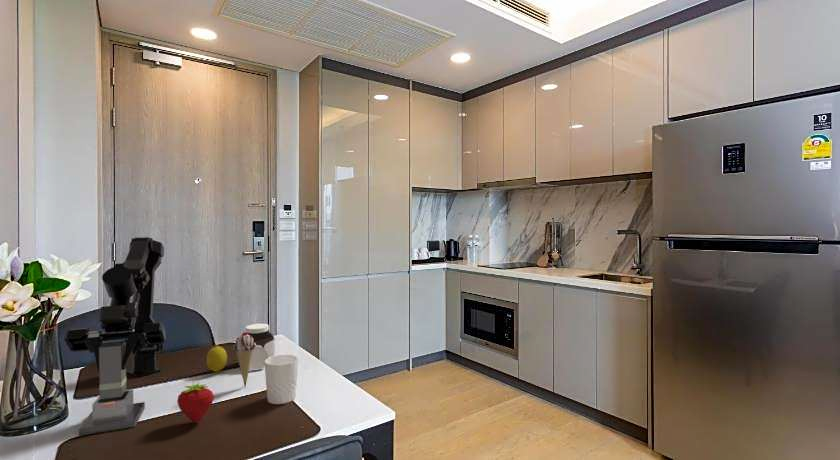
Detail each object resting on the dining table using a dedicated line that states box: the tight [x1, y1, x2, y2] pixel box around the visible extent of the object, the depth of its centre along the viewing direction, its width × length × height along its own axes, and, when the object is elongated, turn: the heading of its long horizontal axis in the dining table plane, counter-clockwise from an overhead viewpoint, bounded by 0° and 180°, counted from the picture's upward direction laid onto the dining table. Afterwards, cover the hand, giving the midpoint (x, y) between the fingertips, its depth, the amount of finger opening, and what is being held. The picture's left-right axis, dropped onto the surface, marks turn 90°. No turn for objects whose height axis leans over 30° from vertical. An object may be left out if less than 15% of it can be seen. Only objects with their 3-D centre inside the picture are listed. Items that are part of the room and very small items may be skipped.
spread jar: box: [244, 323, 276, 371], centre depth 133 cm, size 12×11×12 cm
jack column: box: [98, 340, 127, 399], centre depth 96 cm, size 4×4×11 cm
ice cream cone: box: [232, 331, 256, 388], centre depth 115 cm, size 6×6×15 cm
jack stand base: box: [78, 389, 146, 437], centre depth 96 cm, size 10×10×6 cm
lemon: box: [206, 345, 228, 374], centre depth 127 cm, size 6×6×8 cm
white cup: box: [264, 354, 299, 405], centre depth 108 cm, size 8×8×10 cm
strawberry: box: [176, 379, 214, 424], centre depth 95 cm, size 6×8×10 cm
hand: (111, 370), depth 95 cm, fingers closed on jack column, 4 cm apart
